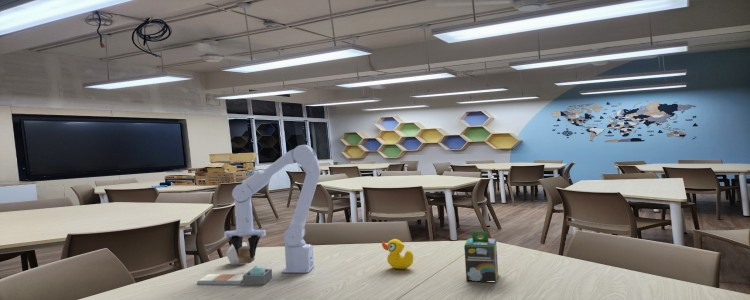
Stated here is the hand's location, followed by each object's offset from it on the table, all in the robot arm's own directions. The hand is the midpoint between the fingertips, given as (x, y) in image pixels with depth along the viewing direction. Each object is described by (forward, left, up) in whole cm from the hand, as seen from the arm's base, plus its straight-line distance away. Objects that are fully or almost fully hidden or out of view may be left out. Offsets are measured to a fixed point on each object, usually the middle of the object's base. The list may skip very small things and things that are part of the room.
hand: (246, 257), depth 153 cm
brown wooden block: (0, 0, -2) cm, 2 cm away
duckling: (-53, -4, -6) cm, 53 cm away
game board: (+4, +9, -5) cm, 11 cm away
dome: (-8, +9, -5) cm, 13 cm away
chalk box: (-80, +6, -6) cm, 80 cm away
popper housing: (-8, +10, -5) cm, 13 cm away
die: (+8, -11, -6) cm, 15 cm away
